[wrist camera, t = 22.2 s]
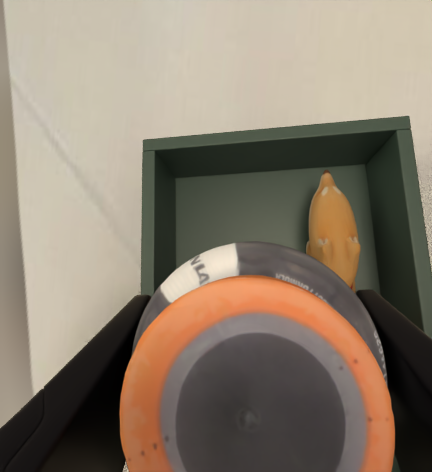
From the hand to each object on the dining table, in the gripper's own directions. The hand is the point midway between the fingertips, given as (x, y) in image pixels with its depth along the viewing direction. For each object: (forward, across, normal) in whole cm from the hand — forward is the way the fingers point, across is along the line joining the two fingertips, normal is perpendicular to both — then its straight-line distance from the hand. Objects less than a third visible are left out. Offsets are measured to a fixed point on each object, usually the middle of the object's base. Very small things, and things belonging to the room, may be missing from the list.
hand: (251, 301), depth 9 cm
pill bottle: (+4, 0, +6) cm, 7 cm away
